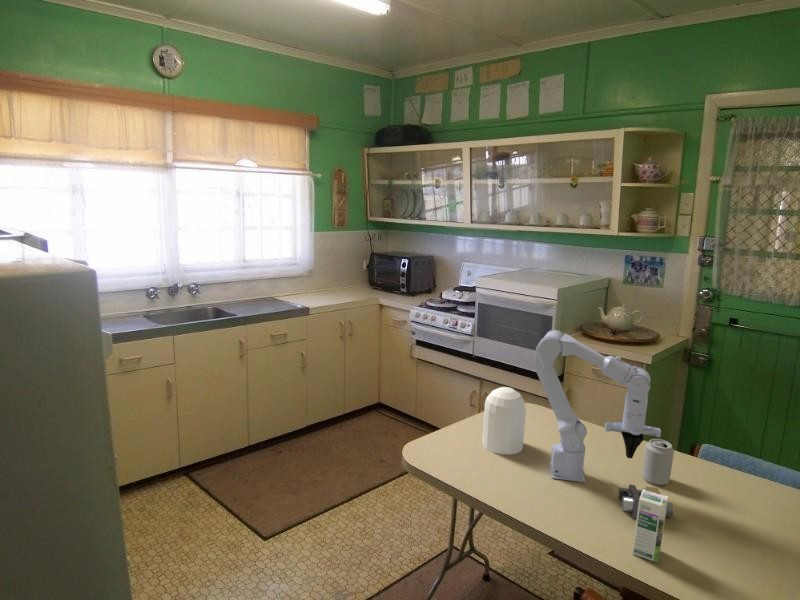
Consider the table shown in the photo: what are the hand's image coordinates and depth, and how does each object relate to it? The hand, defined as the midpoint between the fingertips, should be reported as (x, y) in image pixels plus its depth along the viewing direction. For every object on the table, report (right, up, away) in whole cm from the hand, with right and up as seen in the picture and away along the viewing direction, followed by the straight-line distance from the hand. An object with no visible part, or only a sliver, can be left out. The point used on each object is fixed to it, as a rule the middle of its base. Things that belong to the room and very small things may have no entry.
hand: (629, 456), depth 155 cm
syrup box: (-7, -16, -26) cm, 31 cm away
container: (-31, -4, +26) cm, 41 cm away
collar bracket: (0, -12, -8) cm, 15 cm away
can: (+11, -9, +7) cm, 16 cm away
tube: (0, -12, -10) cm, 16 cm away
